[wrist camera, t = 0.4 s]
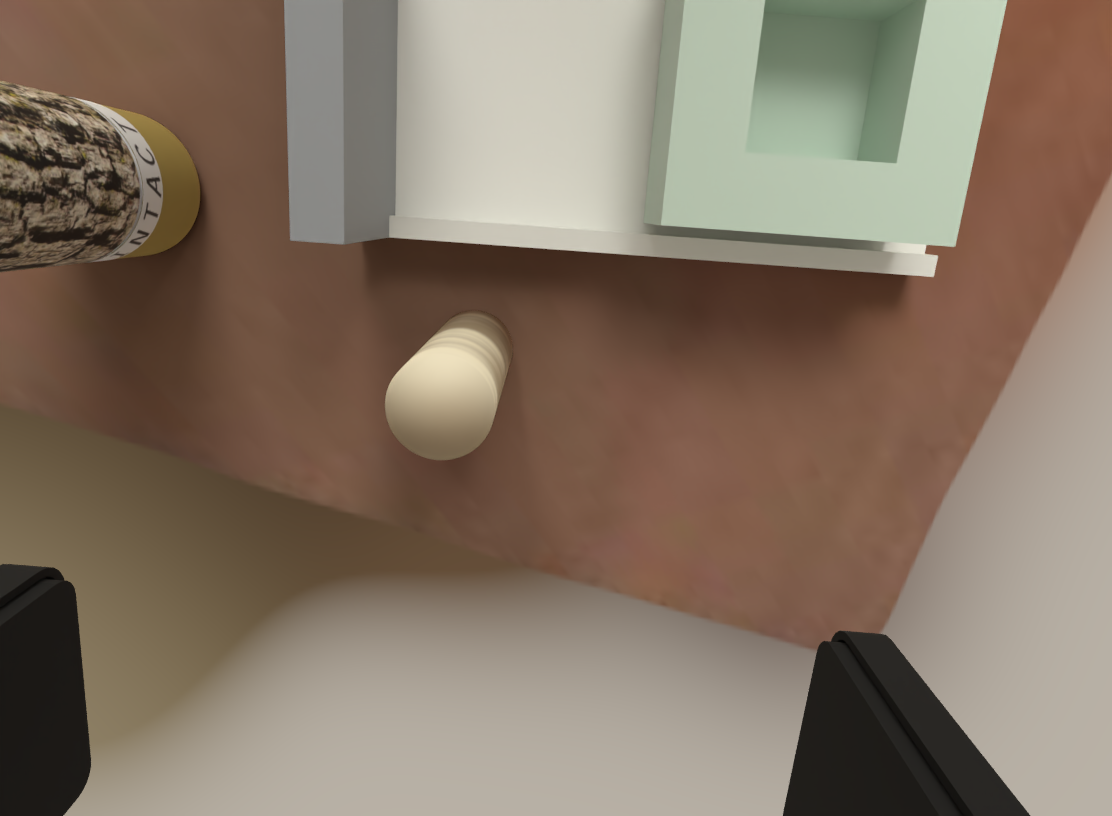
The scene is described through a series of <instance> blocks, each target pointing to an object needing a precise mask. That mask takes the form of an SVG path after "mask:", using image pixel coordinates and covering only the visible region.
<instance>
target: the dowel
mask: <svg viewBox="0 0 1112 816" xmlns="http://www.w3.org/2000/svg"><path fill="white" fill-rule="evenodd" d="M512 354H513V344H512V339H511V336H510V333H509V331H508V330H507V328H506V327H505V325H504V324H503V323H502V322H501V321H500V320H499V319H498V318H496V317H495V316H493V315H491V314H489V313H486V312H483V311H477V310H471V311H465V312H461V313H459V314H457V315H455V316H453V317H452V318H451V319H449V320H448V321H447V322H446V323H445V324H444V325H443V326H442V327H441V328H440V329H439V330H438V331H437V332H436V333H435V334H434V335H433V337H432V338H431V339H430V340H429V341H428V342H427V343H426V344H425V345H424V346H423V347H422V348H421V349H420V350H419V351H418V352H417V353H416V354H415V355H414V356H413V357H412V358H411V359H410V360H409V361H408V362H407V363H406V364H405V365H404V366H403V367H402V368H401V369H400V370H399V371H398V372H397V373H396V375H395V376H394V377H393V379H392V381H391V382H390V384H389V387H388V390H387V393H386V398H385V413H386V418H387V421H388V424H389V426H390V428H391V431H392V432H393V434H394V435H395V437H396V438H397V439H398V440H399V442H400V443H401V444H402V445H404V446H405V447H406V448H407V449H409V450H410V451H411V452H413V453H415V454H417V455H419V456H422V457H424V458H428V459H433V460H451V459H455V458H459V457H462V456H464V455H466V454H468V453H470V452H472V451H473V450H474V449H476V448H477V447H478V446H479V445H480V444H481V443H482V442H483V441H484V439H485V438H486V437H487V435H488V433H489V431H490V429H491V426H492V423H493V420H494V417H495V413H496V410H497V406H498V403H499V400H500V396H501V393H502V390H503V386H504V383H505V379H506V376H507V373H508V369H509V366H510V363H511V359H512Z"/></svg>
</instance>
